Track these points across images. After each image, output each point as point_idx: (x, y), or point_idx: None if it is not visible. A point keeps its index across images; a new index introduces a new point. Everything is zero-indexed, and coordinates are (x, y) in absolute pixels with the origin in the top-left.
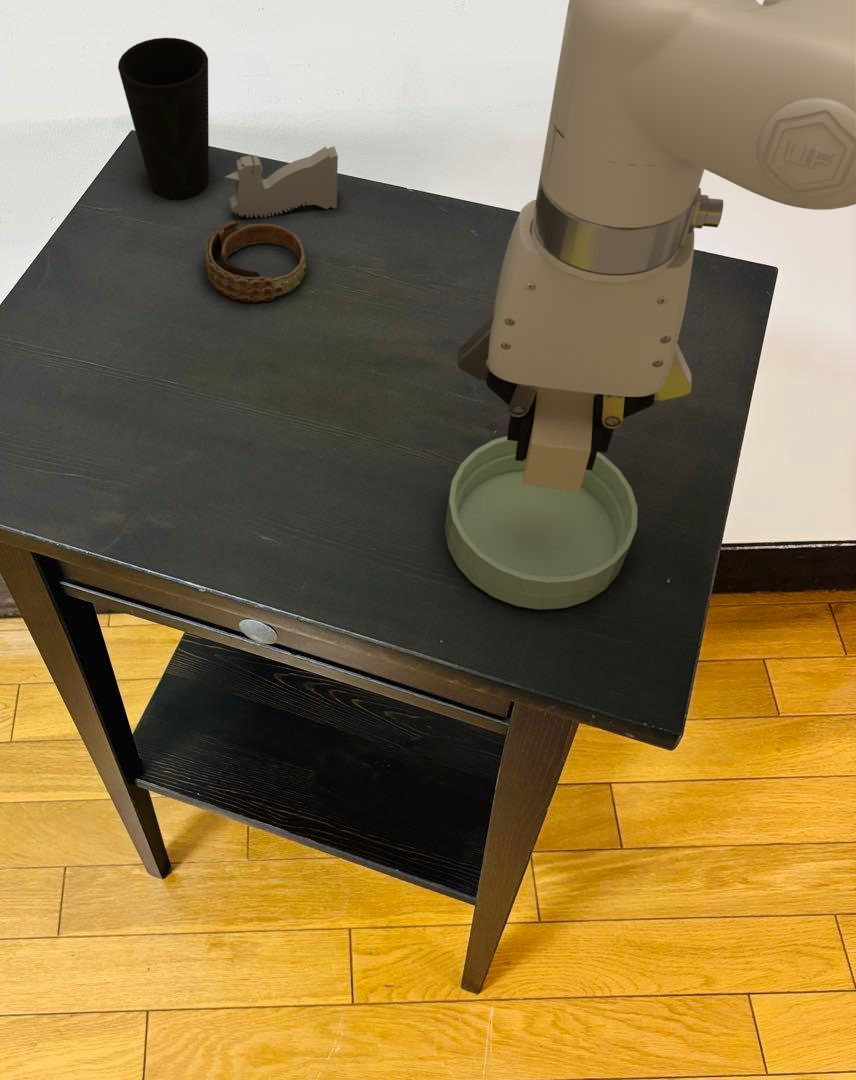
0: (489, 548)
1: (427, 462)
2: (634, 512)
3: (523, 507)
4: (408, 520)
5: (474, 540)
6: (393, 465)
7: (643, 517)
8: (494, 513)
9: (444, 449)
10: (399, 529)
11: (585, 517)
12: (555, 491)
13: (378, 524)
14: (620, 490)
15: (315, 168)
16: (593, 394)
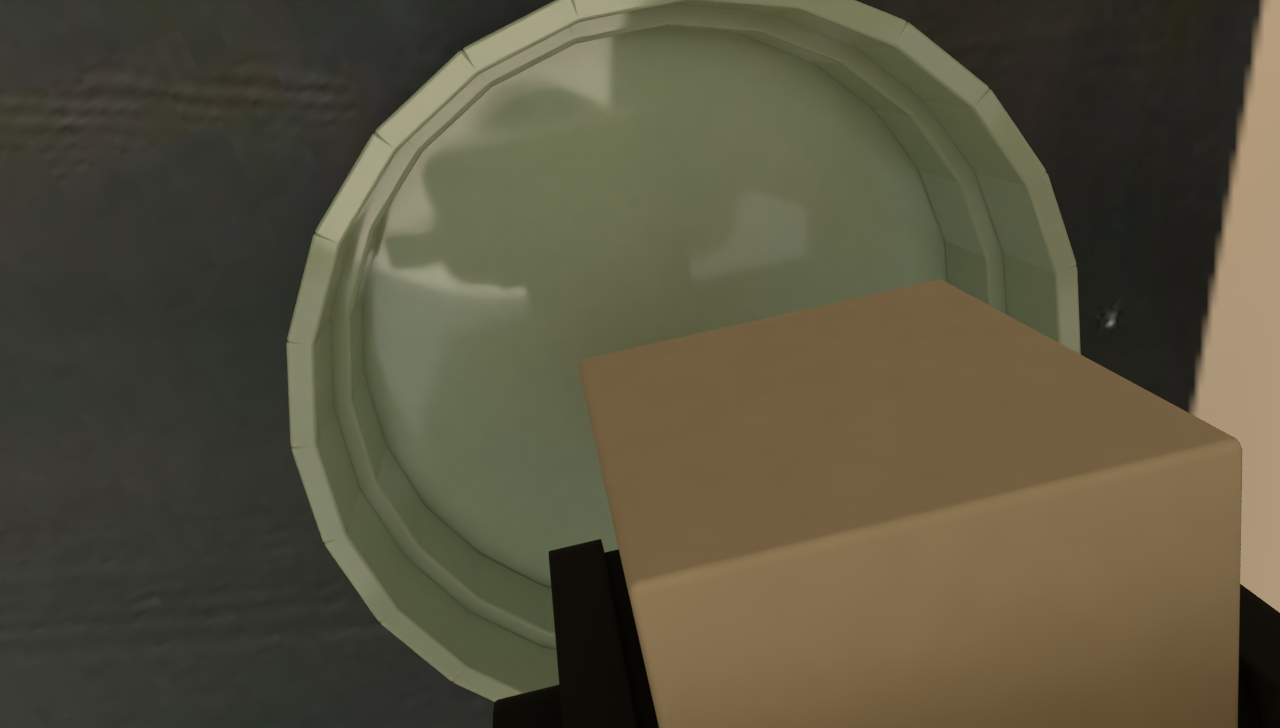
0: (535, 467)
1: (134, 145)
2: (1068, 297)
3: (595, 247)
4: (206, 446)
5: (473, 458)
6: (5, 218)
7: (1017, 88)
8: (500, 315)
9: (168, 43)
10: (195, 494)
11: (825, 197)
12: (691, 116)
13: (111, 506)
14: (986, 156)
15: None
16: (1233, 719)
